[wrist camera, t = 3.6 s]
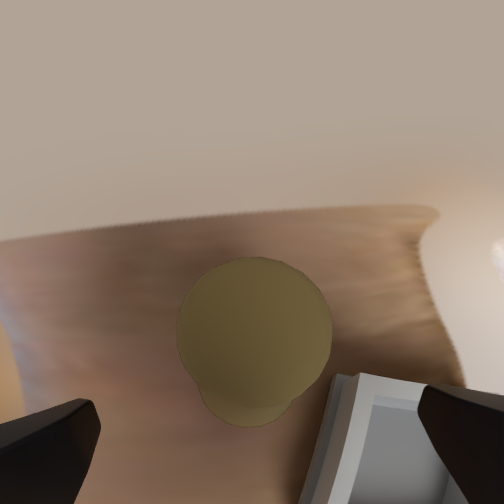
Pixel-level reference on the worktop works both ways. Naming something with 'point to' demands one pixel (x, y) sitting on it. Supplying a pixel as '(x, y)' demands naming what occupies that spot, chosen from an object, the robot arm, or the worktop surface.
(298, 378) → the cork
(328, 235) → the worktop surface
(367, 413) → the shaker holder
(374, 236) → the worktop surface
